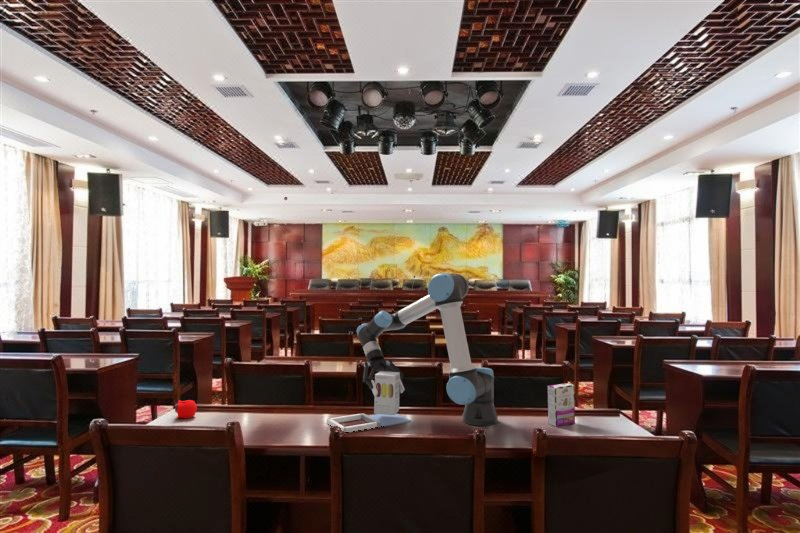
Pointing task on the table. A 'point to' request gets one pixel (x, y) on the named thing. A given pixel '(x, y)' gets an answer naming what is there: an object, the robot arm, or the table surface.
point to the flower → (186, 409)
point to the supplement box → (387, 393)
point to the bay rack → (372, 421)
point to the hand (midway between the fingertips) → (389, 393)
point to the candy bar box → (561, 405)
